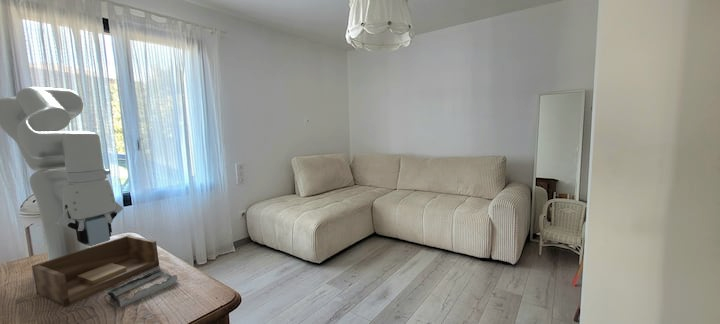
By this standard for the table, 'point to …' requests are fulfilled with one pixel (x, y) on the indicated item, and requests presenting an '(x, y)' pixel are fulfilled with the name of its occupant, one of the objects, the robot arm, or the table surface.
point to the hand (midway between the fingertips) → (95, 238)
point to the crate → (94, 269)
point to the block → (97, 230)
